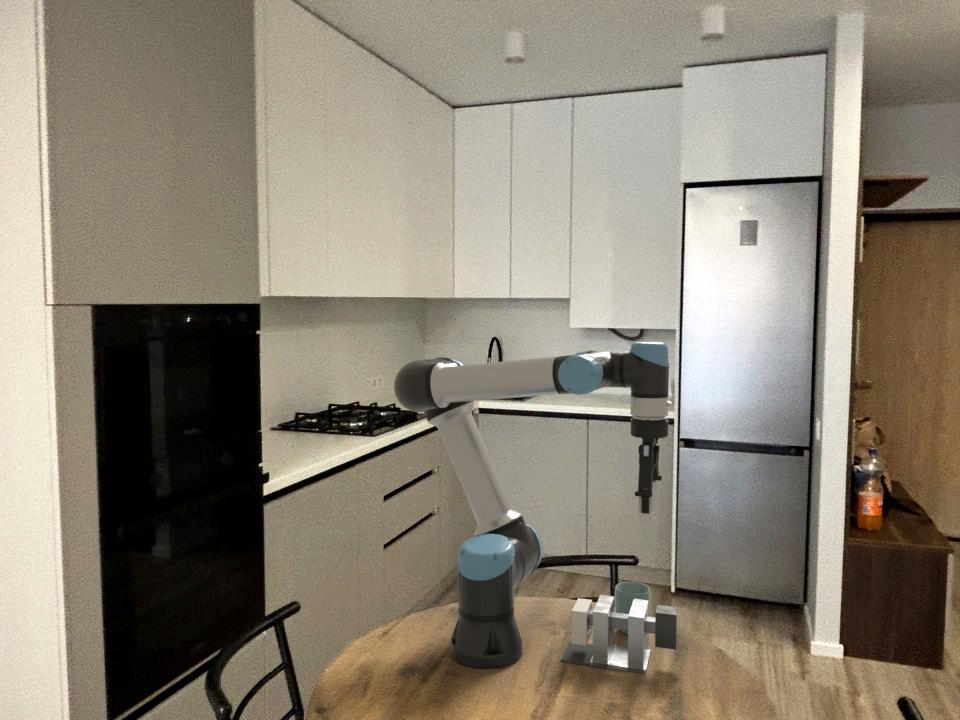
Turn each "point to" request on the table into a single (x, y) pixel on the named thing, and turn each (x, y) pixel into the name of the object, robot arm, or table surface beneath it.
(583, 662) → the mat
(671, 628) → the shaft
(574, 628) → the block
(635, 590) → the cup
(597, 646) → the bearing block
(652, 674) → the table surface
